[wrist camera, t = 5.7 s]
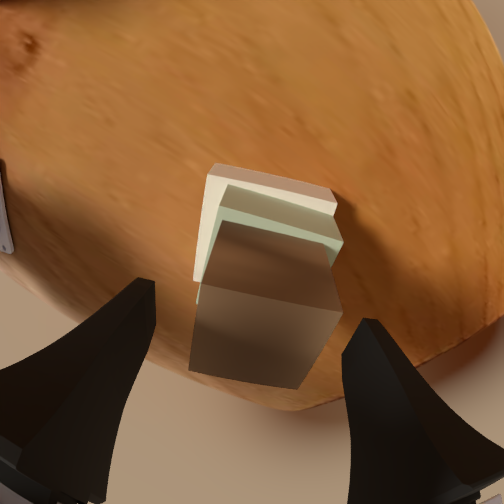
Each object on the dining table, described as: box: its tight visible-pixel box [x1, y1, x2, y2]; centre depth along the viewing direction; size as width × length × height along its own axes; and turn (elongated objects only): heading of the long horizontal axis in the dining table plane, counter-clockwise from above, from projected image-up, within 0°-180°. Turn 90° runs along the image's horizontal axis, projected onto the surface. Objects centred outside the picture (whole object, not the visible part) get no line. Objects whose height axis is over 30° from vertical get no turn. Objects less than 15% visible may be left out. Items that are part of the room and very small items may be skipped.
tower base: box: [193, 163, 338, 282], centre depth 16 cm, size 6×6×2 cm
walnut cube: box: [188, 220, 343, 389], centre depth 11 cm, size 4×4×4 cm
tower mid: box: [196, 184, 344, 304], centre depth 13 cm, size 5×5×2 cm
